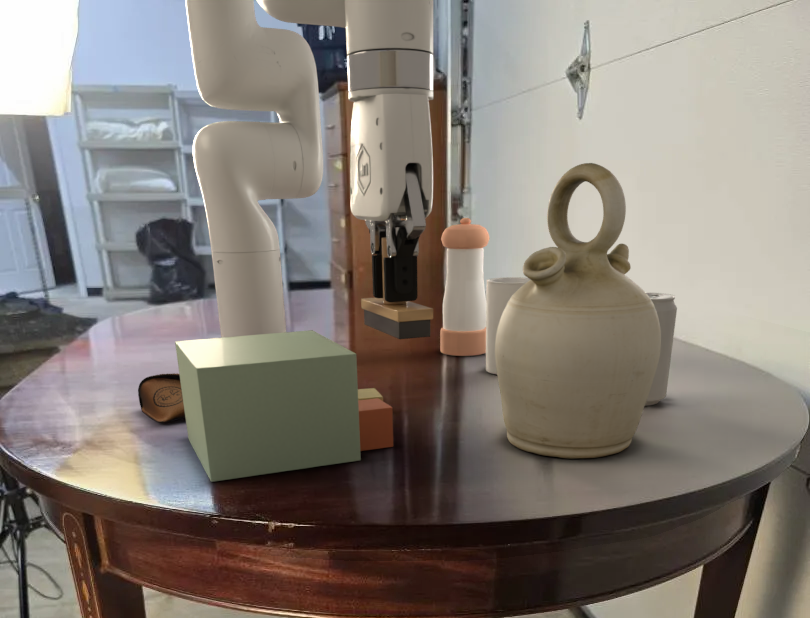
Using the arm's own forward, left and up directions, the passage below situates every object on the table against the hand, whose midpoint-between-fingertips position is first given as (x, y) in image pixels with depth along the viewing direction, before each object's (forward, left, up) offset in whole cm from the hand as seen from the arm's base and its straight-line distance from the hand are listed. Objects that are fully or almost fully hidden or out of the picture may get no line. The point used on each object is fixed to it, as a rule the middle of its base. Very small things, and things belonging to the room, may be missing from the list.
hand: (395, 297), depth 75 cm
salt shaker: (-36, +25, -14) cm, 46 cm away
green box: (0, -14, -14) cm, 19 cm away
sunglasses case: (-19, -15, -14) cm, 28 cm away
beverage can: (0, +30, -14) cm, 33 cm away
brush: (0, 0, -3) cm, 3 cm away
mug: (-21, +26, -14) cm, 36 cm away
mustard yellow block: (-2, -5, -12) cm, 13 cm away
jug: (+10, +14, -14) cm, 22 cm away
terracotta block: (+2, -6, -12) cm, 13 cm away
